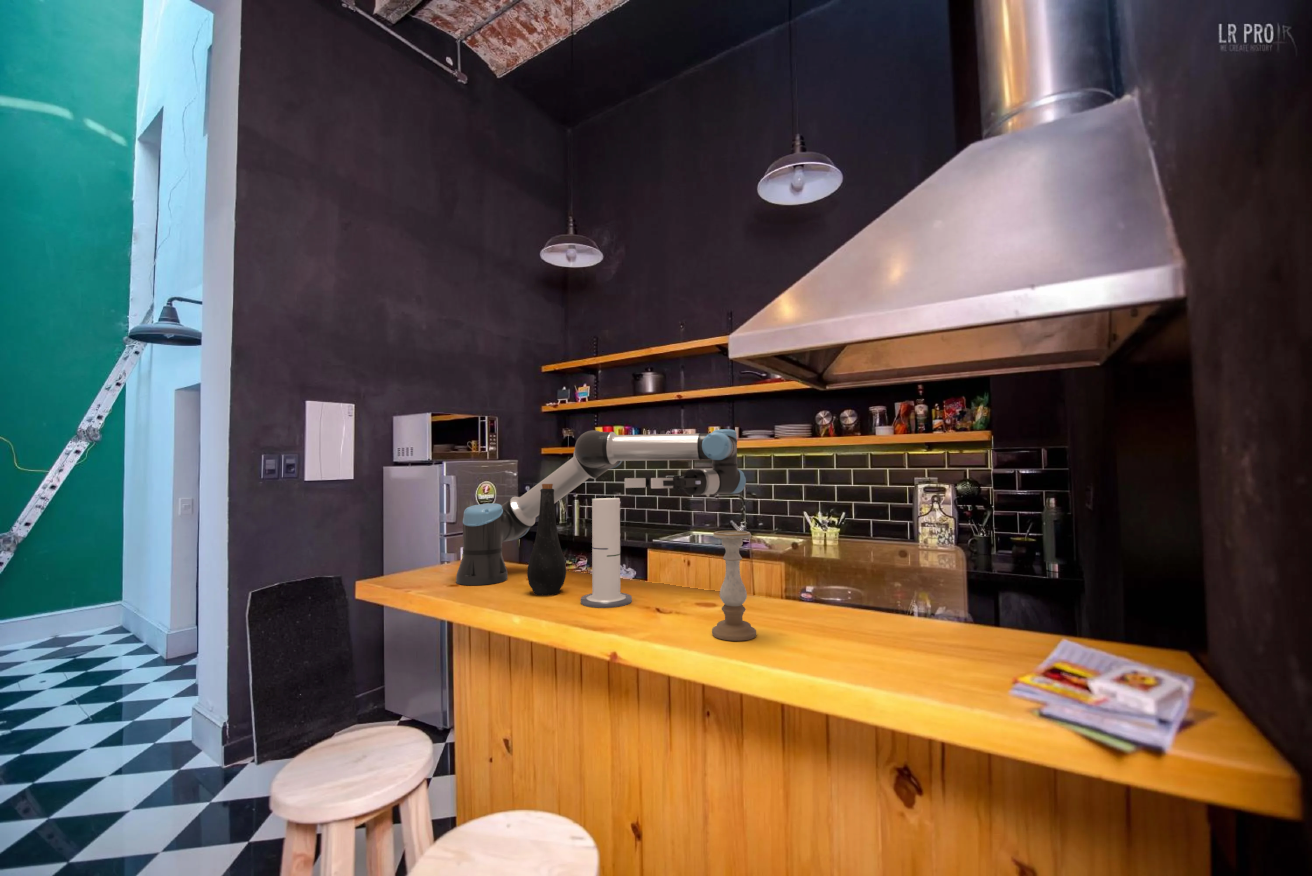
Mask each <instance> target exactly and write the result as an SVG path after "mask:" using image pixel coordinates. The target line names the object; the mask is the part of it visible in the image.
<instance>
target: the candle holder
mask: <svg viewBox="0 0 1312 876" xmlns="http://www.w3.org/2000/svg"><path fill="white" fill-rule="evenodd" d="M712 536H713V538H714V539H720V540H721V546H723V547H724V549H725V553H724V555H723V558H722V560H724V561H725V575H724V579H723V582H722V584H721V586H720V589H719V597H720V599H721V602H722V604H723V605H722V606H721V611H722V612H723V614H724V619H723V620H720V621H718V622H717V623H716V625H715V626H713V627H712V629H711V634H712V636H713V637H714V638H716V639H719V640H724V641H731V642H734V641H735V642H742V641H743V642H744V641H749V640H752V639H753V640H754V638H756V636H757V629H756V628H755V627H753V626H752V625H751V623H749V622H748V621H746V620H743V615H744V613H745V612H746V610H747V608H746V607H745V606H744V605H743V604H744V603H745V602H746V600H747V597H748V596H747V595H748V594H747V593H748V592H747V590H746V586H745V584H744V583H743V579H742V576H741V571H740V568H741V567H740V562H741V560H743V557H742V556H741V554H740V548H741V547H742V546H743V544H744V543H743V540H747V539H750V538H751V537H752V534H751V532H750V531H746V530H717V531H714V532H713V534H712Z"/></svg>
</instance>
